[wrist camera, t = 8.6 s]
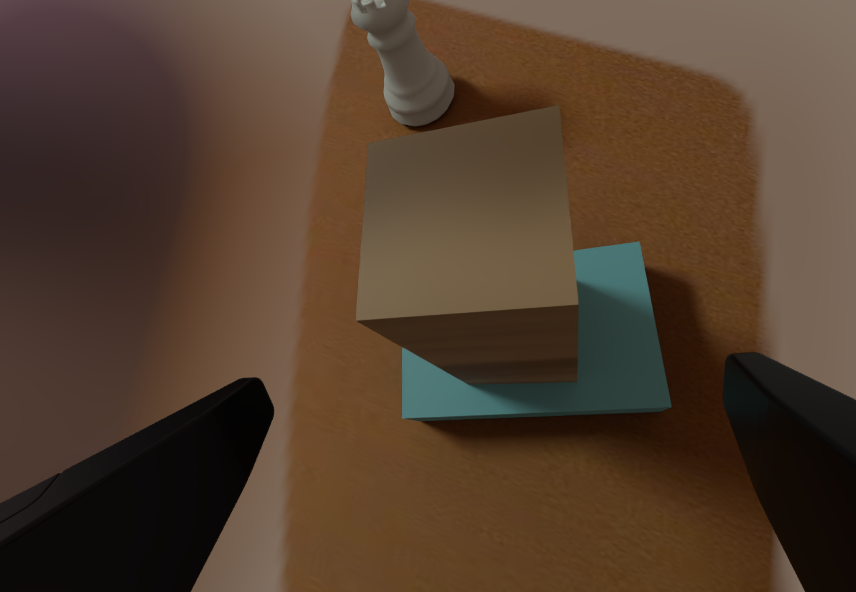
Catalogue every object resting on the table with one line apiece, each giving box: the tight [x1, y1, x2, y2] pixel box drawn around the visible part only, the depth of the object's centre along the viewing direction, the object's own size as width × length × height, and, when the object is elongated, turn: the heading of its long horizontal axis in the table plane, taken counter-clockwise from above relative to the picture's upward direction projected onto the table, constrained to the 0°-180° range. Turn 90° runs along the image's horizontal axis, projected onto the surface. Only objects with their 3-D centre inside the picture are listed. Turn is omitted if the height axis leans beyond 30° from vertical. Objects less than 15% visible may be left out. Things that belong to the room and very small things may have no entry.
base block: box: [402, 242, 672, 421], centre depth 21 cm, size 7×11×2 cm, turn 91°
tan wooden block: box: [356, 105, 579, 385], centre depth 15 cm, size 5×5×11 cm
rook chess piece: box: [351, 0, 455, 126], centre depth 25 cm, size 4×4×8 cm
